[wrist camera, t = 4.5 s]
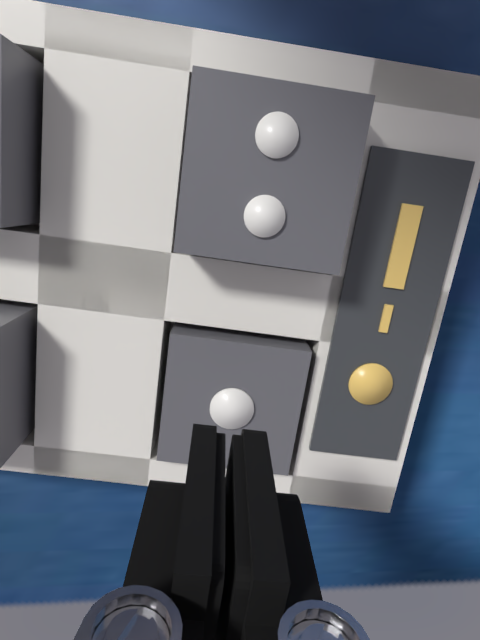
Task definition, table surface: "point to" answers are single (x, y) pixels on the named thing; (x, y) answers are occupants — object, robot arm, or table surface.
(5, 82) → the bar key
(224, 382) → the dot key
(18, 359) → the cross key
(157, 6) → the table surface
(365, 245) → the keypad
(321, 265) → the pair key
